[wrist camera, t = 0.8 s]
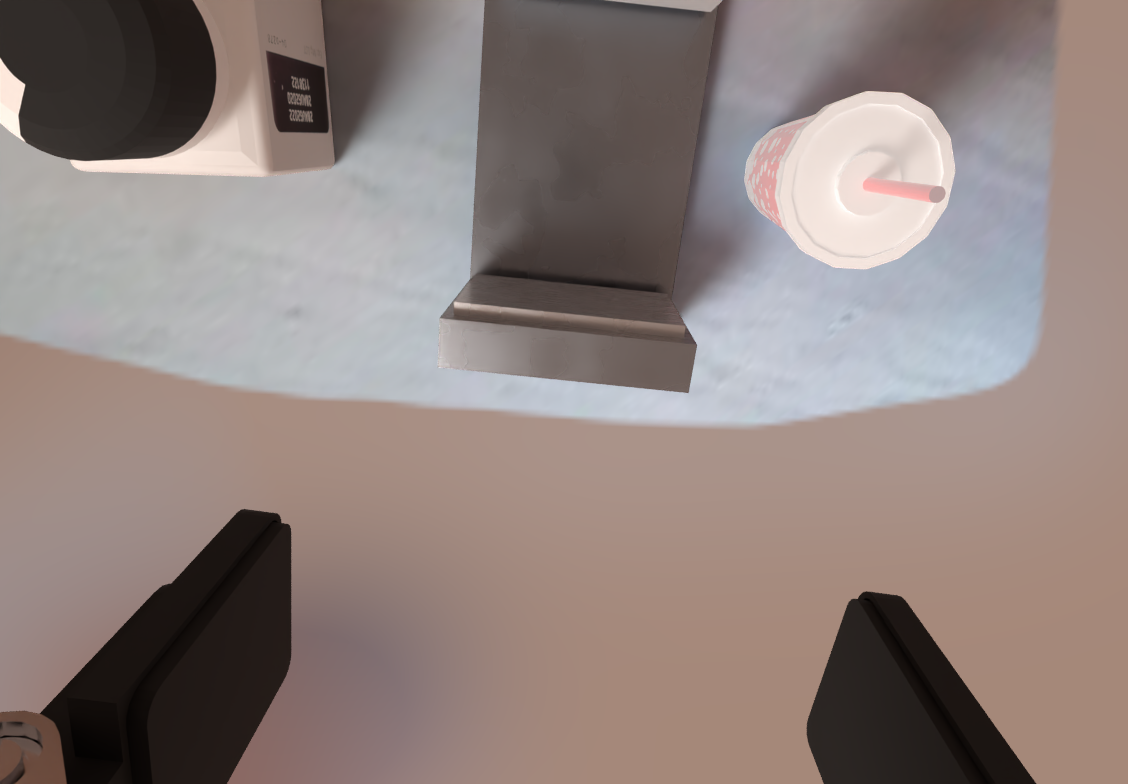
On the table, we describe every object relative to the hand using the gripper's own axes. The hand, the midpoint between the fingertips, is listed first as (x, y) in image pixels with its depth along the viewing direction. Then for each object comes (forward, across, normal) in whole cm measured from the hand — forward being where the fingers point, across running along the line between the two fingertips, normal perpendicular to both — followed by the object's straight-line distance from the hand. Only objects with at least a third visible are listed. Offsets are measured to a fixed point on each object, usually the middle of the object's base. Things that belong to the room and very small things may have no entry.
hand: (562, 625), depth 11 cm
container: (+25, +16, -8) cm, 31 cm away
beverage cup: (+25, -10, -8) cm, 28 cm away
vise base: (+25, 0, -8) cm, 26 cm away
